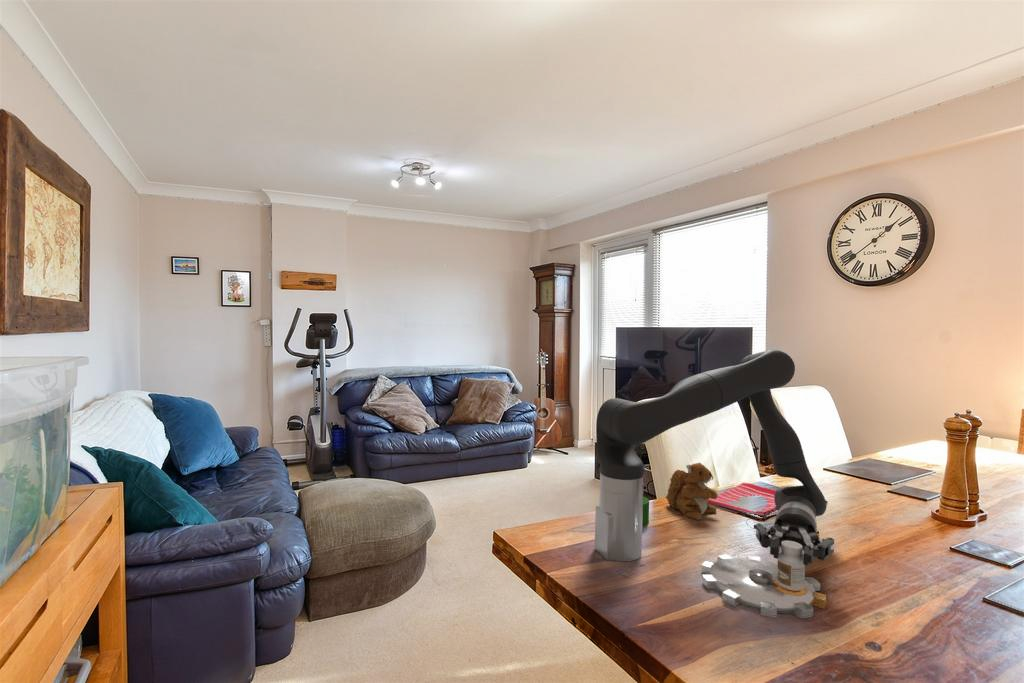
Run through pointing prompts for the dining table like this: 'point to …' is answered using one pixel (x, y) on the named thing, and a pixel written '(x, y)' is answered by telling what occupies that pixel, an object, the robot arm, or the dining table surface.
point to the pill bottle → (791, 566)
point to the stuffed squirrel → (691, 491)
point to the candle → (645, 511)
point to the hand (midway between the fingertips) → (790, 556)
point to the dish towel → (741, 492)
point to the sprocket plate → (760, 587)
